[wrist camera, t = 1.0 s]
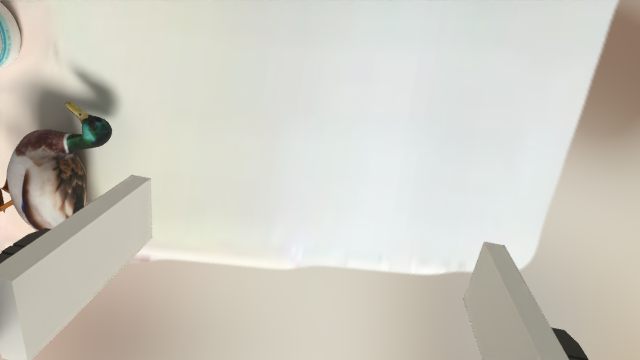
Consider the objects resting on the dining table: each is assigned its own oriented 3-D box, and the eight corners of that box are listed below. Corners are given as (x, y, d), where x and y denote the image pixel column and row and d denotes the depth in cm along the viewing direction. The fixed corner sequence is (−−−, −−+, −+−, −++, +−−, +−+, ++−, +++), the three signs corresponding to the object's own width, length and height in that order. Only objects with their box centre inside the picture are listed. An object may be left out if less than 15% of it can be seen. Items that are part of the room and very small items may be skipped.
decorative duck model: (62, 95, 36) (151, 233, 40) (108, 88, 43) (180, 206, 47) (-60, 163, 39) (35, 287, 42) (2, 146, 46) (79, 253, 50)
